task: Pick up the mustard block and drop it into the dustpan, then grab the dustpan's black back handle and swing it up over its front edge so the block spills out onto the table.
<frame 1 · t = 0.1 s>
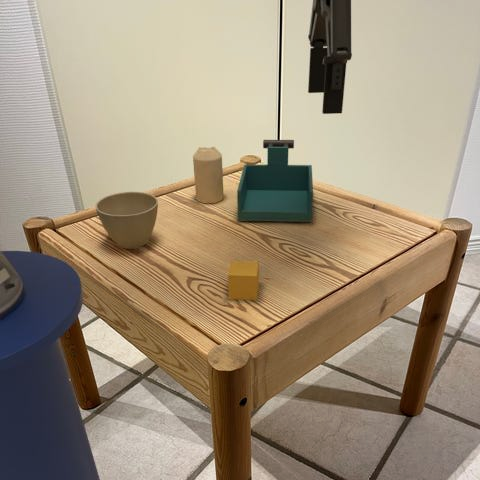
hand: (323, 102, 79), 21 cm above the table, tool pointing down, fingers open, 13 cm apart
candle: (209, 199, 103), on the table
dustpan: (276, 178, 97), point 5 cm above the table, hinge at 0.0°
beige bowl: (133, 243, 87), on the table
block: (244, 292, 74), on the table
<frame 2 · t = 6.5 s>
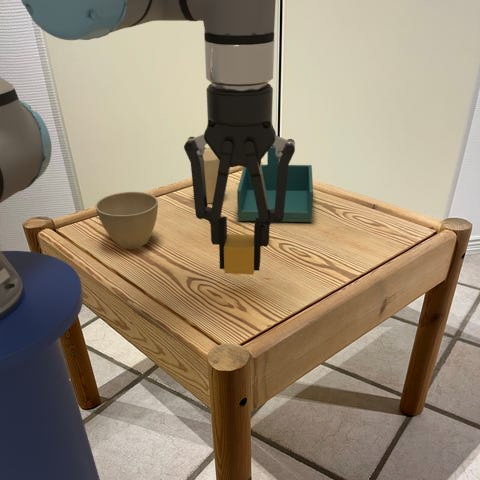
hand: (240, 264, 71), 4 cm above the table, tool pointing down, fingers closed on block, 4 cm apart
block: (240, 266, 71), point 4 cm above the table, touching gripper
everything else where it was.
when the fingers open (7 cm above the table, at t = 11.8 s): block drops 5 cm, resting on dustpan.
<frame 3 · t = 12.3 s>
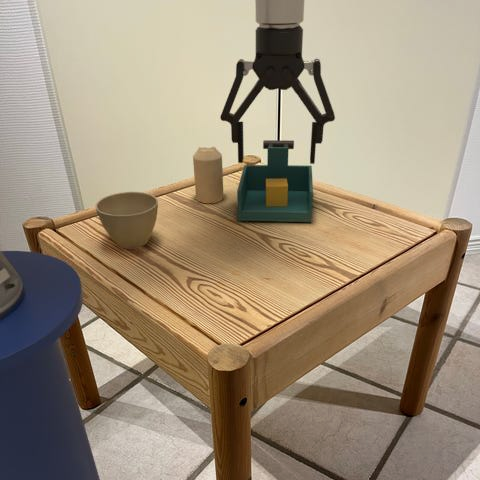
hand: (276, 161, 93), 9 cm above the table, tool pointing down, fingers open, 12 cm apart
dustpan: (276, 178, 97), point 5 cm above the table, hinge at -0.5°, touching block
block: (276, 202, 98), point 1 cm above the table, touching dustpan
everything else where it was.
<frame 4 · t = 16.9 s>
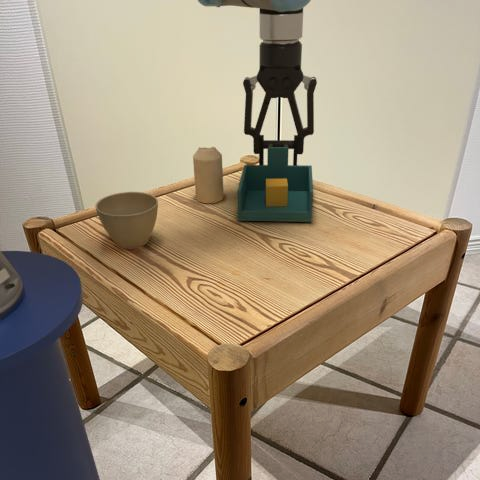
hand: (278, 169, 104), 4 cm above the table, tool pointing down, fingers closed on dustpan, 6 cm apart
dustpan: (276, 178, 97), point 5 cm above the table, hinge at -0.4°, touching block, gripper
everything else where it was.
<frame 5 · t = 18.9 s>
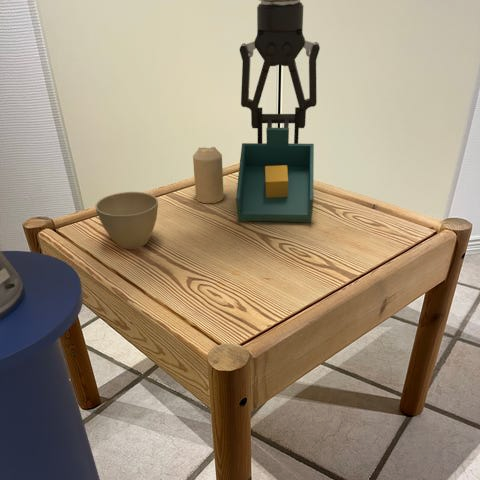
hand: (278, 145, 97), 10 cm above the table, tool pointing down, fingers closed on dustpan, 6 cm apart
dustpan: (276, 166, 93), point 8 cm above the table, hinge at 24.0°, touching block, gripper
block: (276, 189, 95), point 4 cm above the table, tilted 24°, touching dustpan
everything else where it was.
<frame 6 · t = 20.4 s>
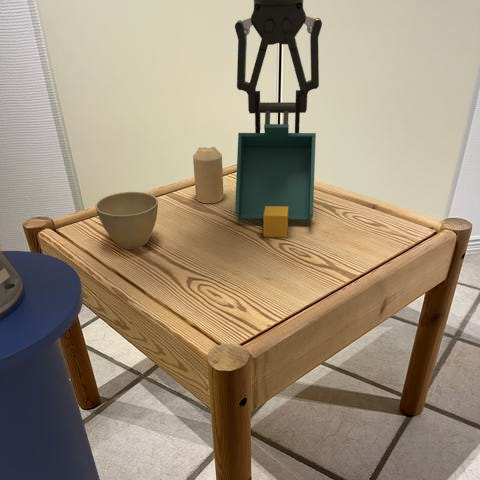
hand: (277, 131, 90), 14 cm above the table, tool pointing down, fingers open, 6 cm apart
dustpan: (275, 163, 88), point 10 cm above the table, hinge at 51.7°, touching gripper
block: (276, 210, 87), point 4 cm above the table, tilted 180°
everything else where it was.
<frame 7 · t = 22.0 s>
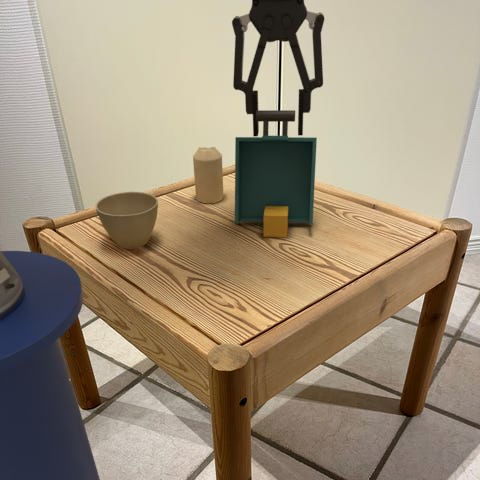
hand: (278, 133, 85), 15 cm above the table, tool pointing down, fingers open, 7 cm apart
dustpan: (275, 170, 85), point 10 cm above the table, hinge at 70.0°, touching gripper
everything else where it was.
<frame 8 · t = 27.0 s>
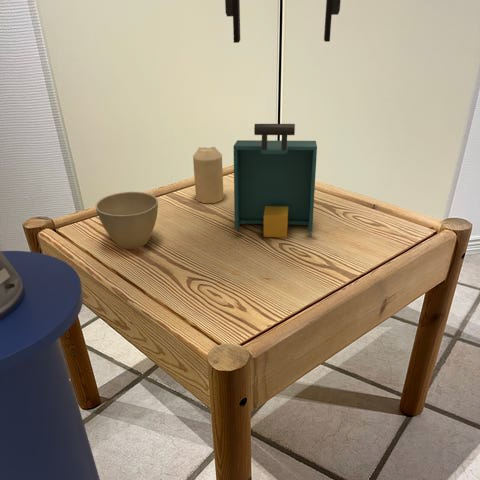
hand: (281, 41, 78), 29 cm above the table, tool pointing down, fingers open, 13 cm apart
dustpan: (274, 177, 84), point 10 cm above the table, hinge at 82.4°
everything else where it was.
at the end: dustpan reached +82° during the clip, +82° at the end; block inside the target area (4.5 cm from its centre), point 4.0 cm above the table; block touching table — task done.
